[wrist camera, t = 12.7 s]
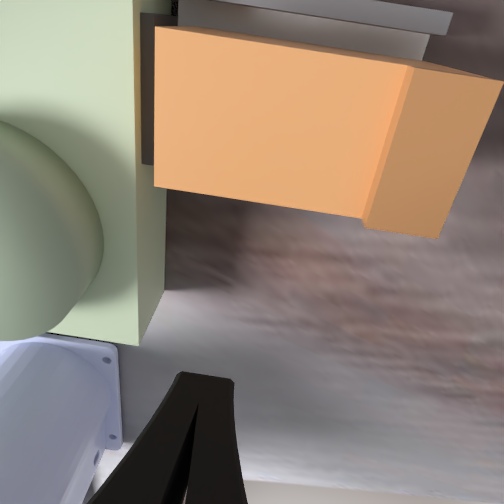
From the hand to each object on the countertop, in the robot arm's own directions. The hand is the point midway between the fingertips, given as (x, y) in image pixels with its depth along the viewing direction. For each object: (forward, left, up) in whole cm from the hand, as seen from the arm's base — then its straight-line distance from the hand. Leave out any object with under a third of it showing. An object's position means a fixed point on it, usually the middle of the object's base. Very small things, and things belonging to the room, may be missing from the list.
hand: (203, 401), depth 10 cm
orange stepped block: (+6, -2, -9) cm, 11 cm away
